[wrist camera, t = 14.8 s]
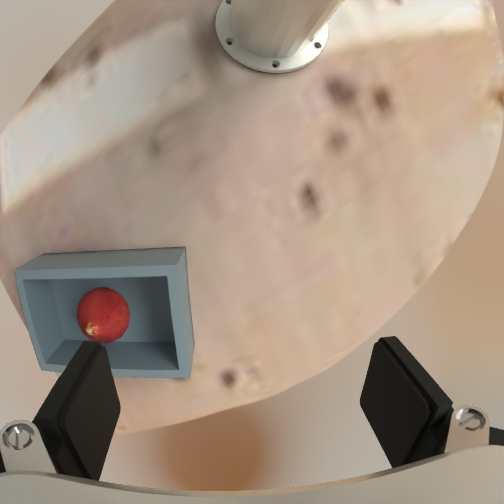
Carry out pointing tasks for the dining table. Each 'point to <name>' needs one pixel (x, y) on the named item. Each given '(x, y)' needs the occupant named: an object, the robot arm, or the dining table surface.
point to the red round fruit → (103, 315)
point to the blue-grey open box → (135, 294)
